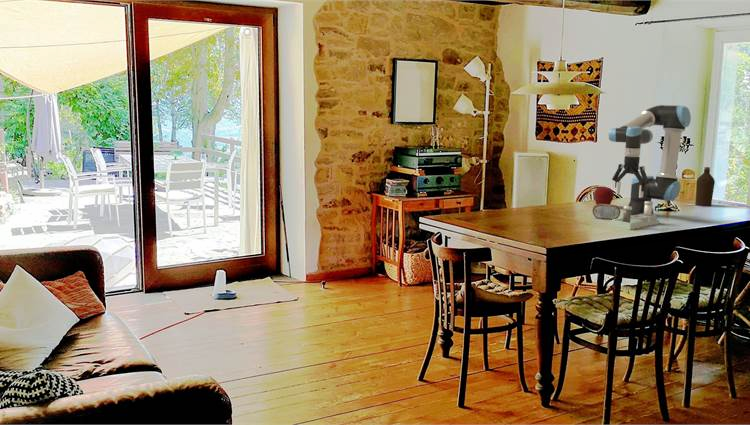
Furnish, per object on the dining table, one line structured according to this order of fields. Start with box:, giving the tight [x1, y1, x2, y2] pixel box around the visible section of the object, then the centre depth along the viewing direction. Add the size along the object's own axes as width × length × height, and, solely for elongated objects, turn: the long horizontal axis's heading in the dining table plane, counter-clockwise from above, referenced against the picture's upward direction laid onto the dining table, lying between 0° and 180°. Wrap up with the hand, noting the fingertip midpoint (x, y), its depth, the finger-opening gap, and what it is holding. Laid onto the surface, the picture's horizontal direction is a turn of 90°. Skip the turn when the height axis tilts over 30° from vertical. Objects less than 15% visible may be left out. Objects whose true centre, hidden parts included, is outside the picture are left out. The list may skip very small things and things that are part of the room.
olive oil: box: [695, 166, 716, 207], centre depth 444 cm, size 11×11×25 cm
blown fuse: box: [622, 205, 632, 223], centre depth 366 cm, size 4×4×10 cm
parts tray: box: [609, 217, 644, 230], centre depth 366 cm, size 12×12×4 cm
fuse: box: [644, 200, 654, 216], centre depth 378 cm, size 4×4×10 cm
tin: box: [592, 204, 621, 220], centre depth 388 cm, size 15×3×8 cm, turn 74°
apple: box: [593, 186, 615, 205], centre depth 430 cm, size 12×12×13 cm
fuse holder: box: [631, 214, 660, 227], centre depth 376 cm, size 10×17×4 cm, turn 128°
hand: (629, 195), depth 364 cm, fingers open, 13 cm apart
